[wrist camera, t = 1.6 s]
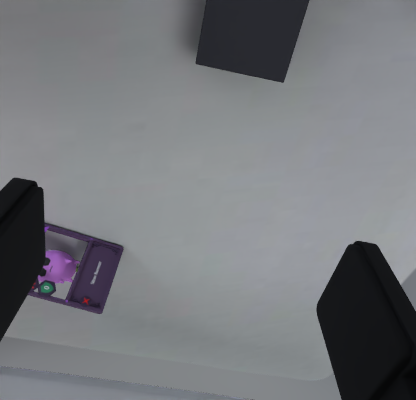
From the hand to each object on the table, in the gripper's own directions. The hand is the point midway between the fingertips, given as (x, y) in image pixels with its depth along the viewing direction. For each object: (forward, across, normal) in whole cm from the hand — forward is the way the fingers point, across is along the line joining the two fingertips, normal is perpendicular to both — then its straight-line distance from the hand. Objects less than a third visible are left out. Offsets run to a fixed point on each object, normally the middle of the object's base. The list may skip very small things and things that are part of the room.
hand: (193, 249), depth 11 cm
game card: (+20, +10, +19) cm, 29 cm away
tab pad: (+19, -2, -7) cm, 21 cm away
